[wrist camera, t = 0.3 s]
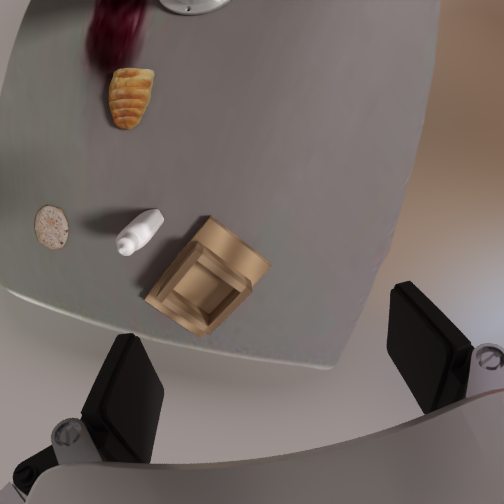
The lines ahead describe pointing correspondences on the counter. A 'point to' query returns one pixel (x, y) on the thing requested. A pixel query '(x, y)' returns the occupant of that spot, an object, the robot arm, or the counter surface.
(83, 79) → the counter surface
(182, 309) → the holder stand
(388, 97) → the counter surface
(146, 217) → the eye dropper bottle
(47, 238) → the flatbread
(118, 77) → the pastry
